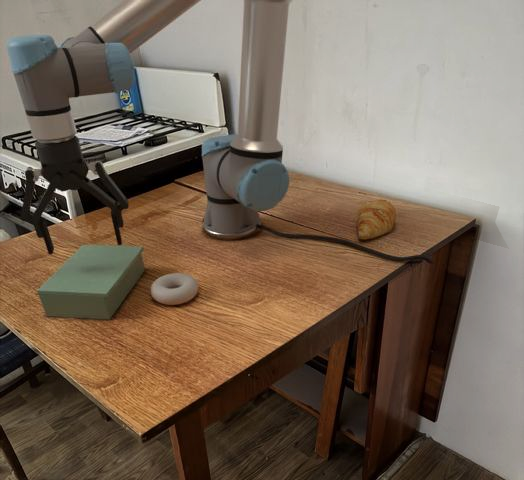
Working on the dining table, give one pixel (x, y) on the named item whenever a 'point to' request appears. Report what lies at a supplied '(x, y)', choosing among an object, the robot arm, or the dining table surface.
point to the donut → (174, 288)
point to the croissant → (375, 219)
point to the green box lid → (92, 271)
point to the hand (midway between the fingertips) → (86, 247)
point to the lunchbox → (93, 299)
